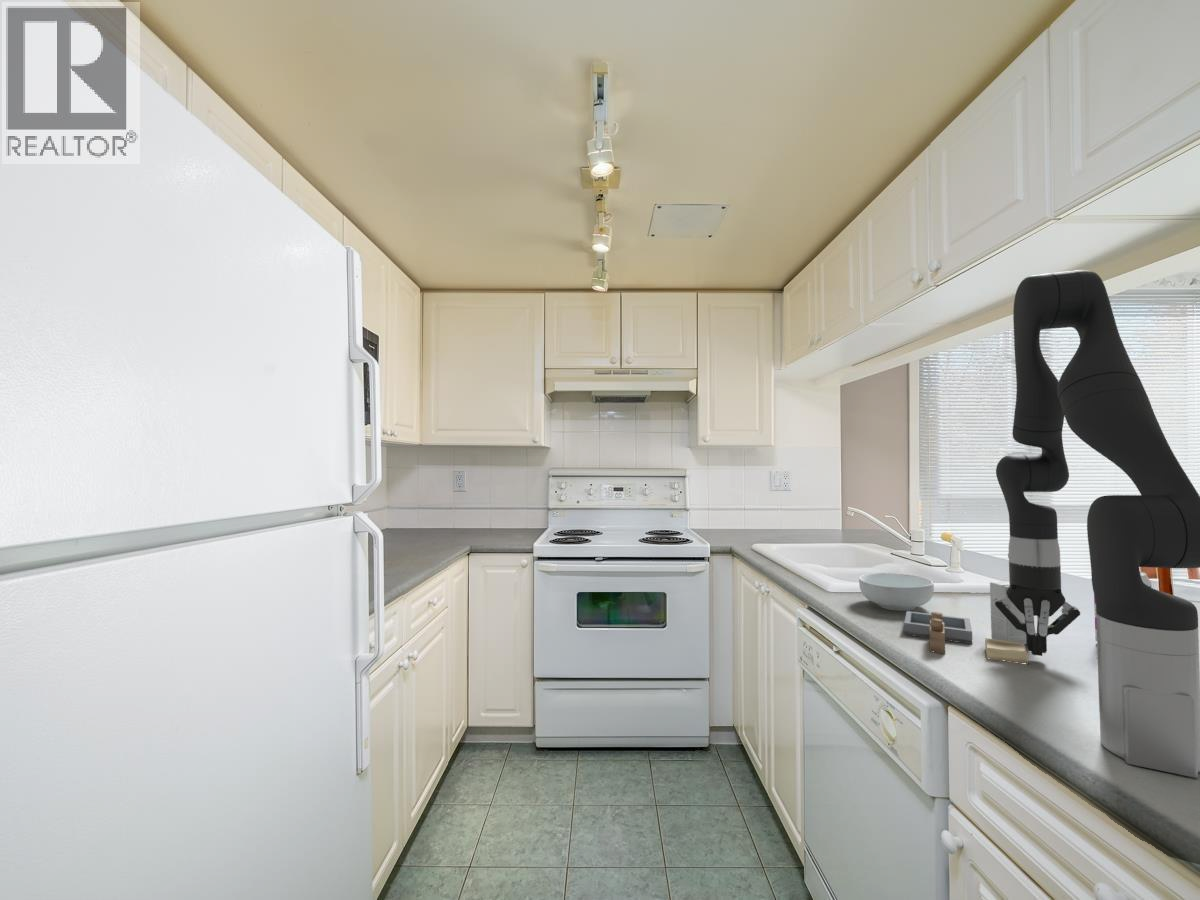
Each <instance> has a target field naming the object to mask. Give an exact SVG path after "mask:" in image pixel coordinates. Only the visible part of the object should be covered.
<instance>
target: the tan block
mask: <svg viewBox="0 0 1200 900" xmlns="http://www.w3.org/2000/svg"><path fill="white" fill-rule="evenodd" d="M984 641H985V643H984V644H985V645H984V646H985V648H986V649H985V652H986V659H987V658H990V659H989V660H992V659H995V661H999V660H1005V661H1011V662H1010V663H1012V662H1018V663H1026V664H1028V662H1029V661H1028V652H1027V648H1026V646H1025V644H1024V643H1018V642H1011V641H1004V640H996V639H992V638H989V637H988V638H987V637H984ZM1005 661H1004V662H1005ZM1018 663H1017V664H1018ZM1028 665H1029V664H1028Z"/></svg>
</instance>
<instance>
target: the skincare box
mask: <svg viewBox="0 0 1200 900" xmlns="http://www.w3.org/2000/svg"><path fill="white" fill-rule="evenodd" d="M1009 586H1010V583H1009V580H1008V581H1007V580H1006V581H990V582H989V592H990V596H989V598H990V629H991V631H990V633H991V639H996V640H1004V641H1011V642H1018V643H1024V645H1026V633H1025V632H1024V631H1022V630H1018V629H1016V628H1015V627H1014V626H1013V625H1012V623H1011V622H1010V621H1009V620H1008V619H1007V618H1006V617H1005V616H1004V615H1003V613H1002V612H1001V611H1000V610H999V609H998V608H997V607H996V606H995V603H994V600H995V599H997V598H998V599H1000V598H1002V597H1004V596H1006V595H1007V594H1006V592H1007V590H1008V589H1009ZM1009 603H1010V605H1011V608H1010V611H1011V612H1012V613H1013V614H1014V615H1015V616H1016V617H1017V618H1018V619H1019V620H1020V622H1023V623H1025V619H1024V614H1023V613H1021V612H1020V611H1019V610H1018V609H1017V608H1016V606H1015V605H1014V604H1013V603H1012V602H1011V601H1009Z"/></svg>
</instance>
